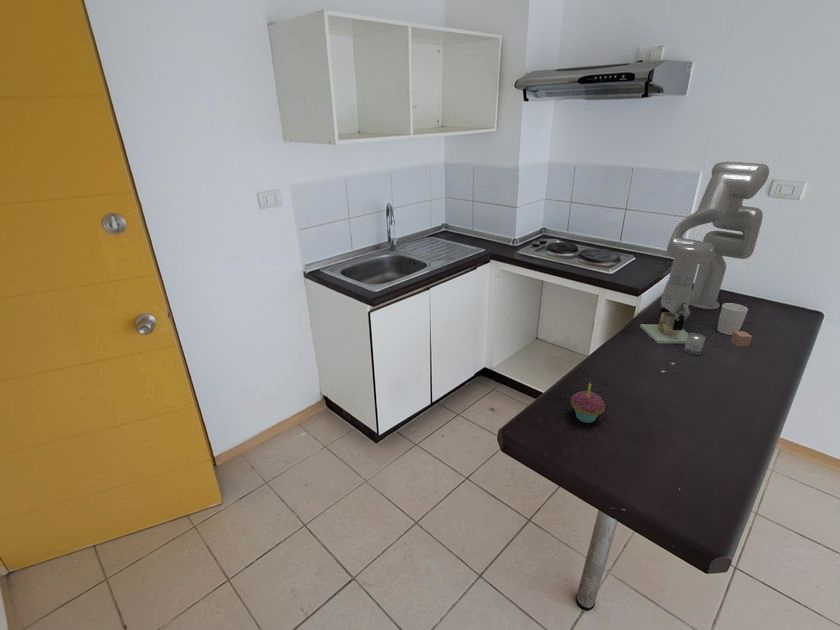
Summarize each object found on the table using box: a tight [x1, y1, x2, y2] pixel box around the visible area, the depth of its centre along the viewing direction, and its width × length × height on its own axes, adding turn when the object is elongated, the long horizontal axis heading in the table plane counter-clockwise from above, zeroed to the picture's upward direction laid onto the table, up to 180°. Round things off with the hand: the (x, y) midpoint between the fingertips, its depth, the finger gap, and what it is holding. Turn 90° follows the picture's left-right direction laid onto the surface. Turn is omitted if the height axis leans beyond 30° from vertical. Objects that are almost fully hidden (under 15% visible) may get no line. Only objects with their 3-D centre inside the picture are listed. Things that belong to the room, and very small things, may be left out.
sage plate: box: [639, 323, 689, 345], centre depth 163 cm, size 14×14×1 cm
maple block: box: [658, 312, 681, 335], centre depth 161 cm, size 5×5×7 cm
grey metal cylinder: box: [683, 332, 706, 356], centre depth 150 cm, size 5×5×6 cm
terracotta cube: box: [730, 330, 753, 348], centre depth 155 cm, size 4×4×4 cm
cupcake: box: [570, 382, 606, 424], centre depth 115 cm, size 9×8×12 cm
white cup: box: [716, 302, 749, 336], centre depth 163 cm, size 8×8×10 cm
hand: (670, 324), depth 161 cm, fingers open, 9 cm apart
